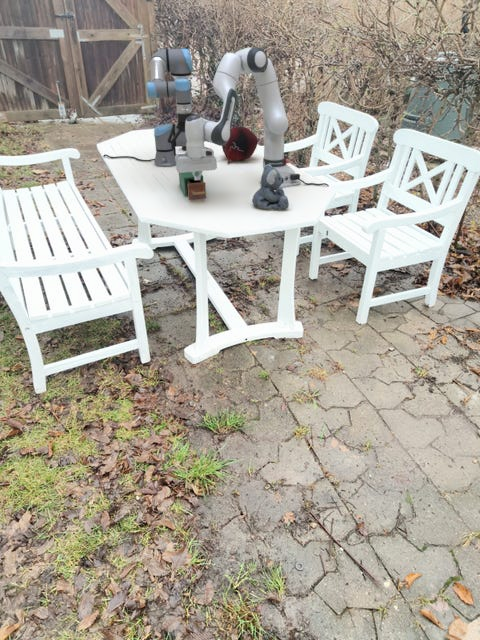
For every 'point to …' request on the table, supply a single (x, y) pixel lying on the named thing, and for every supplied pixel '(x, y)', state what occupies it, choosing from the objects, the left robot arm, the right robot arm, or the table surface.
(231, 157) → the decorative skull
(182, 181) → the cabinet
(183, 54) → the left robot arm
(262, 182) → the koala plush
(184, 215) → the table surface
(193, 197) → the drawer
